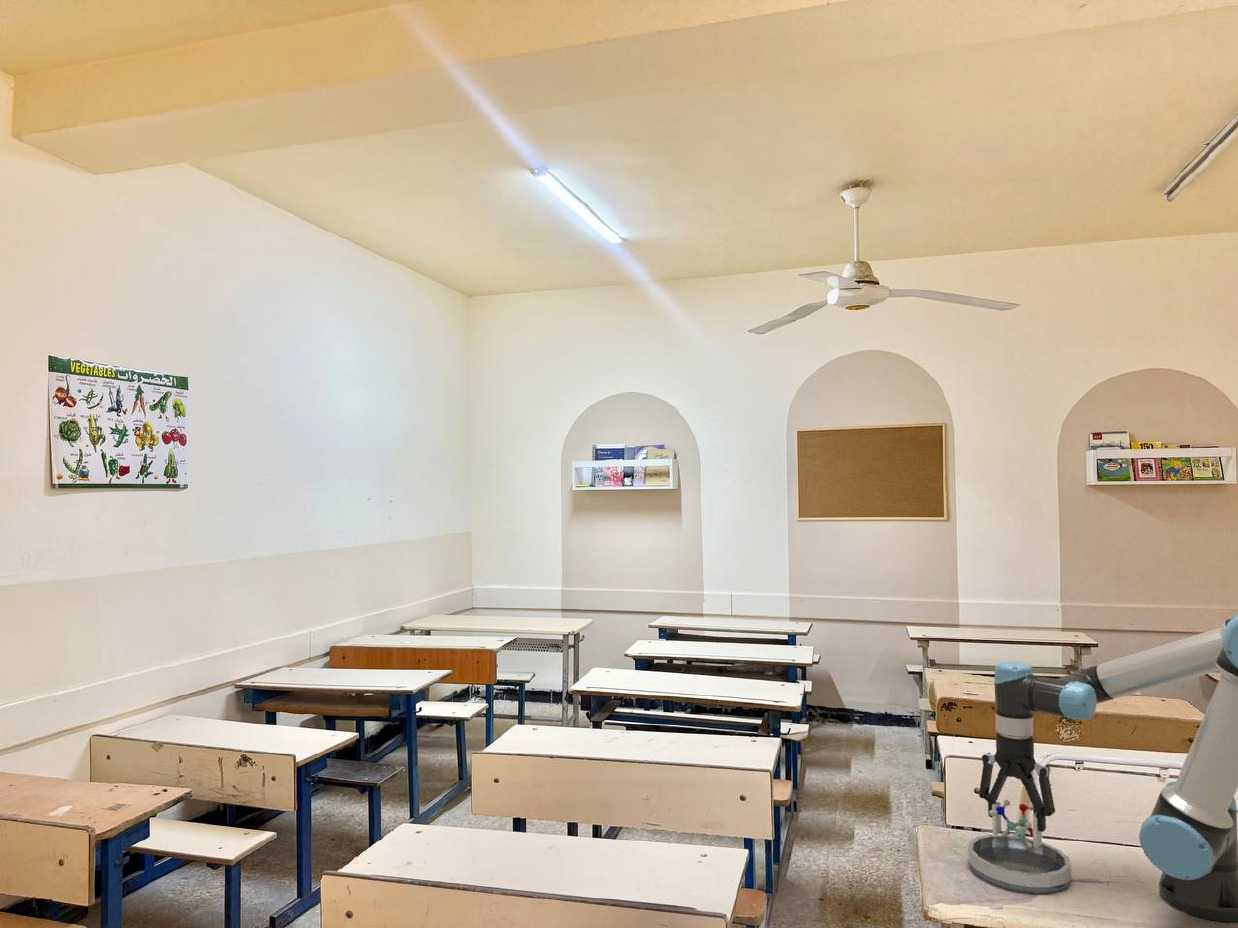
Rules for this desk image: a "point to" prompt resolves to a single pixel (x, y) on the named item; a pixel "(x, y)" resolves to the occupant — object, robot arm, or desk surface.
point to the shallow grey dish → (1019, 865)
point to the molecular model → (1012, 826)
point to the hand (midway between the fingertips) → (1016, 838)
